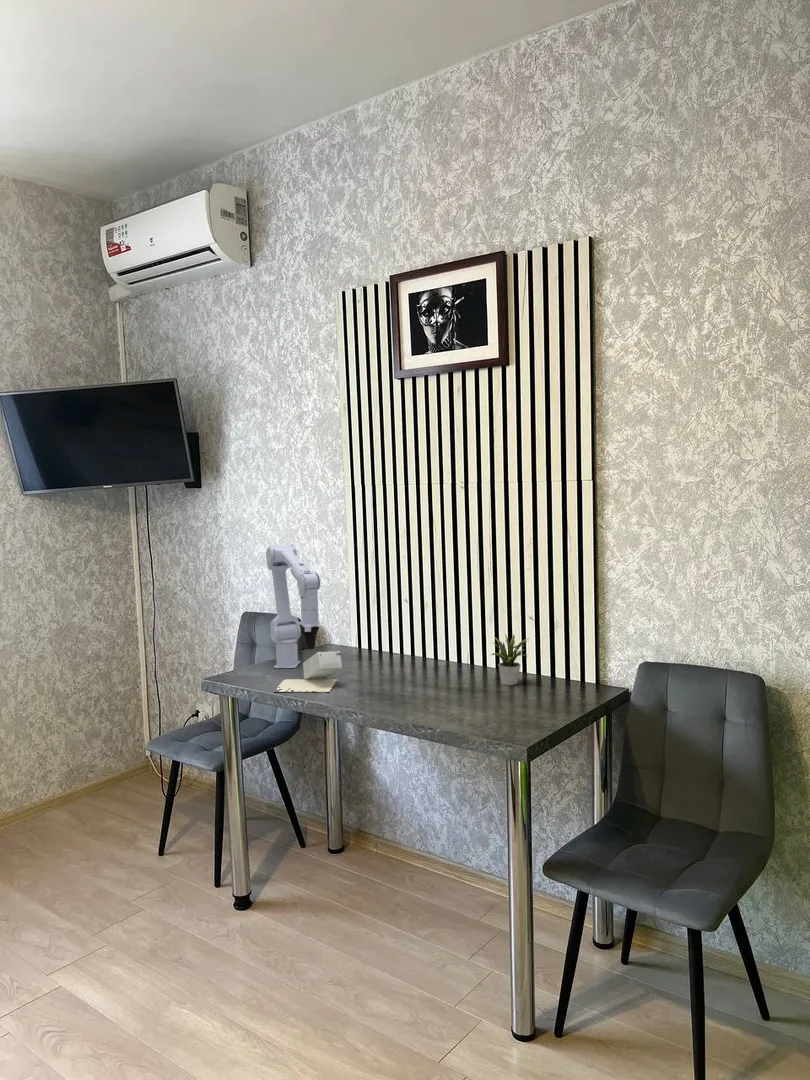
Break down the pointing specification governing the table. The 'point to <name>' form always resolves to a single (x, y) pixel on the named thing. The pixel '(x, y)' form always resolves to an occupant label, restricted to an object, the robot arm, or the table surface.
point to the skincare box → (322, 665)
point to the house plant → (509, 661)
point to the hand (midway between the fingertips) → (311, 648)
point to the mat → (307, 685)
